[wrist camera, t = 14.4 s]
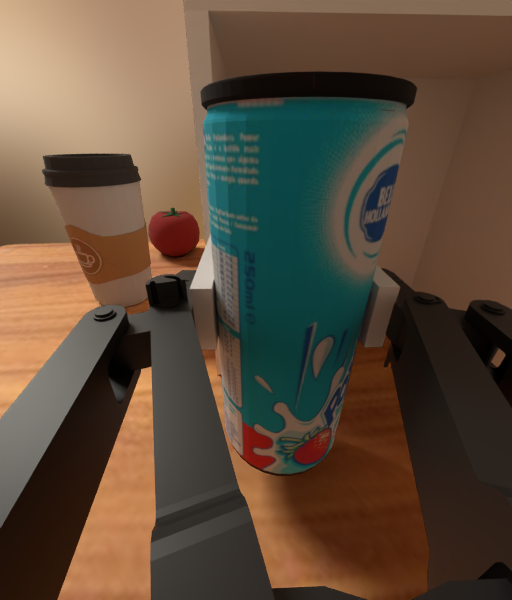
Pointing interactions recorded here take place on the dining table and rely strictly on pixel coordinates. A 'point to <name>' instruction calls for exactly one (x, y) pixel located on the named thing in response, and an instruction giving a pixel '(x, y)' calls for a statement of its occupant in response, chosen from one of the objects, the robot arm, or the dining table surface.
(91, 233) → the coffee cup
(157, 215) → the tomato
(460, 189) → the open box
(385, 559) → the dining table surface
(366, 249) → the beverage can
